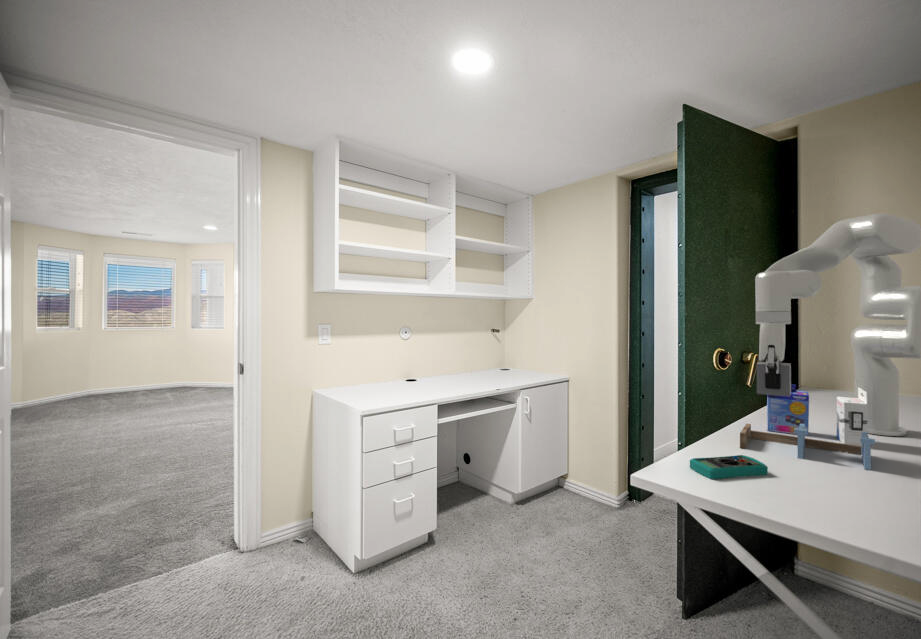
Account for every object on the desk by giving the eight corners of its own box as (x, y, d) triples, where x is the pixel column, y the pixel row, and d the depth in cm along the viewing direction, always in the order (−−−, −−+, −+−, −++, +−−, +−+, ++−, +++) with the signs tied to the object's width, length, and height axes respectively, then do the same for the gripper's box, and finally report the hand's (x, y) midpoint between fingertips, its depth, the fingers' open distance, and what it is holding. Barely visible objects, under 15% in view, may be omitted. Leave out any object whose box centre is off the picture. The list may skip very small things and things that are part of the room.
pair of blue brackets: (796, 445, 115) (796, 419, 115) (870, 456, 105) (871, 428, 105) (793, 457, 106) (794, 429, 106) (874, 470, 96) (875, 440, 96)
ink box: (835, 437, 122) (835, 385, 121) (858, 439, 119) (859, 386, 119) (843, 445, 114) (843, 390, 114) (868, 448, 112) (868, 392, 111)
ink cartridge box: (767, 431, 128) (767, 383, 128) (767, 427, 132) (767, 380, 132) (809, 436, 122) (809, 386, 122) (808, 432, 127) (808, 383, 126)
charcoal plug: (758, 390, 117) (758, 361, 117) (791, 393, 113) (790, 363, 112) (756, 393, 114) (756, 363, 114) (789, 396, 109) (789, 365, 109)
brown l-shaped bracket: (747, 436, 123) (747, 422, 123) (866, 454, 107) (866, 439, 107) (739, 448, 113) (739, 433, 113) (870, 470, 97) (870, 452, 97)
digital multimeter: (770, 477, 95) (770, 463, 95) (710, 481, 93) (710, 468, 93) (744, 465, 102) (744, 453, 102) (688, 469, 100) (687, 457, 100)
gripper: (759, 317, 121) (760, 381, 122) (751, 319, 109) (752, 391, 109) (793, 317, 117) (793, 383, 117) (788, 319, 104) (789, 394, 104)
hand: (773, 386), depth 113 cm, fingers closed on charcoal plug, 4 cm apart
